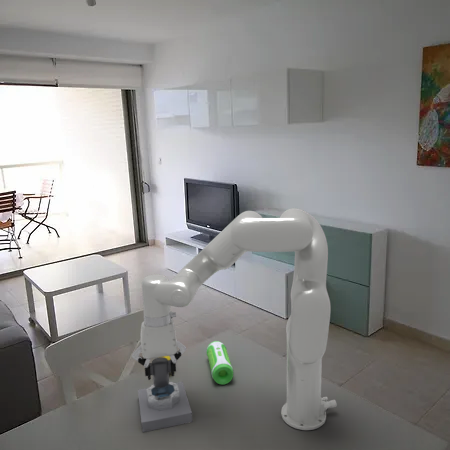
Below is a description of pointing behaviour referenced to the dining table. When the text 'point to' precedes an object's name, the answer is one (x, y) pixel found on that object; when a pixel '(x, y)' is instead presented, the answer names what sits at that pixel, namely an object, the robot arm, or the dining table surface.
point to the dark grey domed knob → (160, 371)
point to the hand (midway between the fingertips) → (160, 375)
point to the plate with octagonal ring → (164, 411)
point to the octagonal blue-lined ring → (166, 401)
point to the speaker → (219, 362)
